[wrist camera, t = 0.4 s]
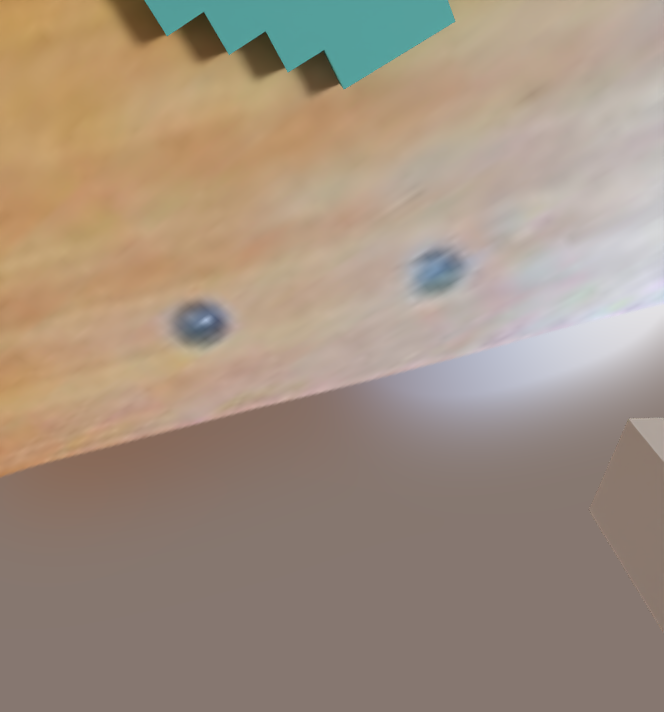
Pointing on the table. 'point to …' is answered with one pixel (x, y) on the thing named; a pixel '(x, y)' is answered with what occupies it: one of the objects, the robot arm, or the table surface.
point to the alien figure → (317, 28)
